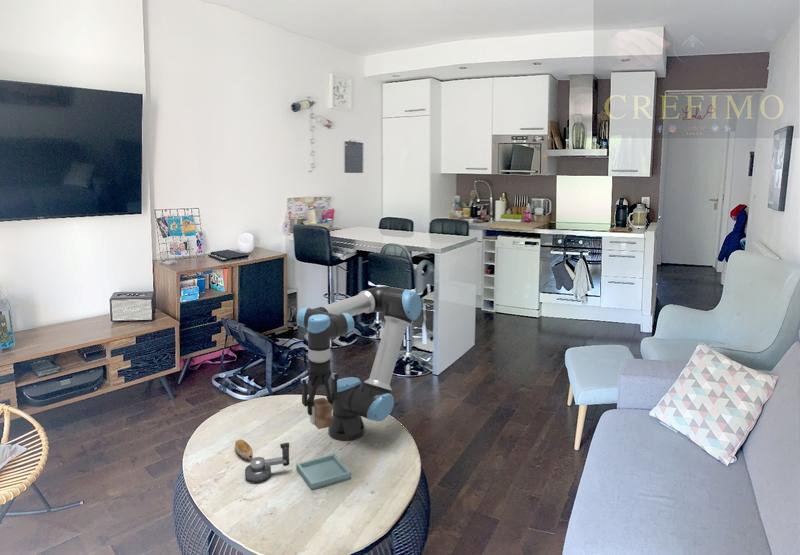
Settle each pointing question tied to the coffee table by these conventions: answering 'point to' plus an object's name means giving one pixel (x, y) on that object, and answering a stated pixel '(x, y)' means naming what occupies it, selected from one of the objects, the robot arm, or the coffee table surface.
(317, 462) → the tray
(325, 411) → the stop block
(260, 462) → the crank
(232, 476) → the coffee table surface
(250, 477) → the crank base
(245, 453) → the sweet potato
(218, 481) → the coffee table surface
